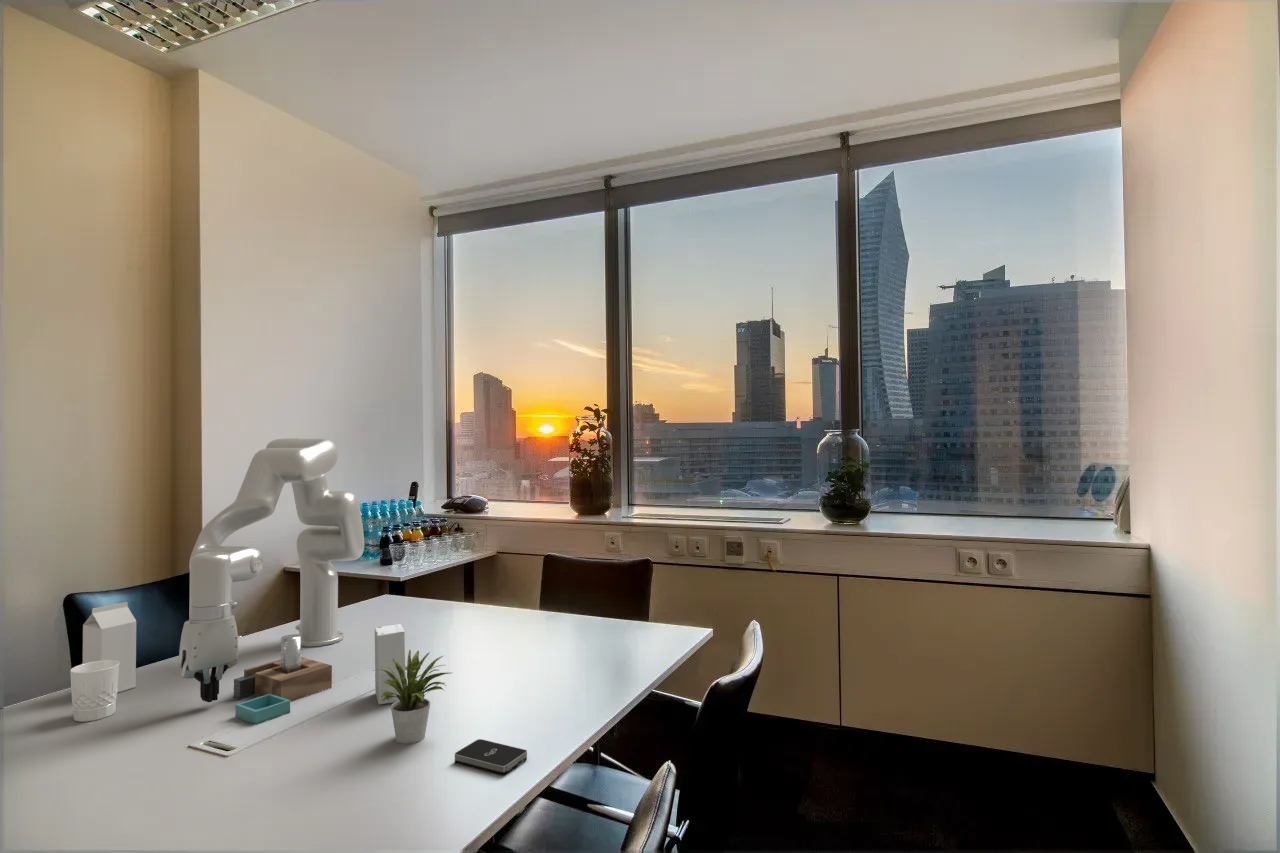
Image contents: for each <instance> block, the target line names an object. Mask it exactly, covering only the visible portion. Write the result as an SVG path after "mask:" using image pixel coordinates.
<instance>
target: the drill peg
mask: <svg viewBox="0 0 1280 853" xmlns="http://www.w3.org/2000/svg"><path fill="white" fill-rule="evenodd" d="M280 641H281V642H280V659H281V673H285V674H288V673H292V672H295V671H298V670H301V657H302V646H301V635H299V633H298V634H295V633H294V634H287V635H284V636H281V637H280Z"/></svg>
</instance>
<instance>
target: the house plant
mask: <svg viewBox="0 0 1280 853" xmlns="http://www.w3.org/2000/svg"><path fill="white" fill-rule="evenodd" d="M429 654H430V652H428V653H426V654H425V655H423V657H422V659H421V660H420V659H419V656H420V650H419V649H417V651H416V652H415V653H414V654H413V657H411V656H412V651H411V649H409V651H408V654H407V661H406V662H407V664H406V665H407V666H406V667H407V668H406V677H405V674H404V671H403V669H402V667H401V666H400V664H399V663H398V662H397V661H396V660H394V659H393V663H395V666H396V669H397V670H398V672H399V675H400V679H401V683H402V686H403V689H402V687H401V684H400V682H399V680H398V678H397V676H396V675H395V673H394V672H393V671H392V670H391V669H390V668H389V667H388V666H386V665H384V666H386V667H388V668H389V669H390V671H391V672H392V673H393V674H394V675H395V676H394V675H393V674H392V673H390V672H389V671H387V670H385V669H383V668H381V669H382V670H383V671H385V672H386V673H387V674H388V675H389V676H390V677H391V678H392V679H393V680H391V679H388V680H385V681H384V682H385V683H386V684H388V685H390V686H392V687H394V688H395V689H396V690H397V692H398V693H399V695H398V694H395V695H396V696H397V698H398V699H399V701H397V702H394V703H392V704H391V706H390V710H391V715H392V717H391V718H392V723H393V729H394V736H395V740H396V742H397V743H399V744H402V745H403V744H404V745H407V744H408V745H409V744H415V743H418V742H420V741H422V740H424V739H425V737H426V732H427V726H428V718H429V713H430V708H431V701H430V700H429V699H428V698H425V693H429V692H431V691H436V690H442V691H444V692H446V691H445V689H444V688H443V687H442V686H440V685H443V686H445V687H447V685H446V683H445V682H441V681H434V682H431V683H429V682H430V681H432V680H433V679H435V678H438V677H440V676H443V675H449V674H450V675H451V674H452V672H438V671H439V669H435V668H438V667H443V666H445V664H440V665H435V664H436V662H438V661H439V660H440V659H441V658H442V657H444V655H441V656H439V657H436V659H434V660H433V661H432V662H430V664H429V665H428V666H427V667H426V668H425V669H424V671H423V672H422V674H420V675H418V673H419V672H420V669H421V667H422V665H423V663H424V661H425V660H426V659H427V657H428V656H429ZM388 662H390V661H388ZM432 669H433V670H432ZM372 671H374V672H375V669H373V670H372ZM435 671H437V673H433V672H435ZM431 673H433V674H431ZM429 674H430V675H429ZM396 678H397V679H396ZM417 678H419V679H417ZM432 685H433V686H432ZM438 685H439V686H438ZM431 686H432V687H431ZM390 695H394V693H392V692H389V691H385V692H384V693H383V695H382V697H385V698H384V699H383V700H385V699H388V698H391V697H396V696H390ZM382 697H381V698H382ZM383 700H382V701H383Z"/></svg>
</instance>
